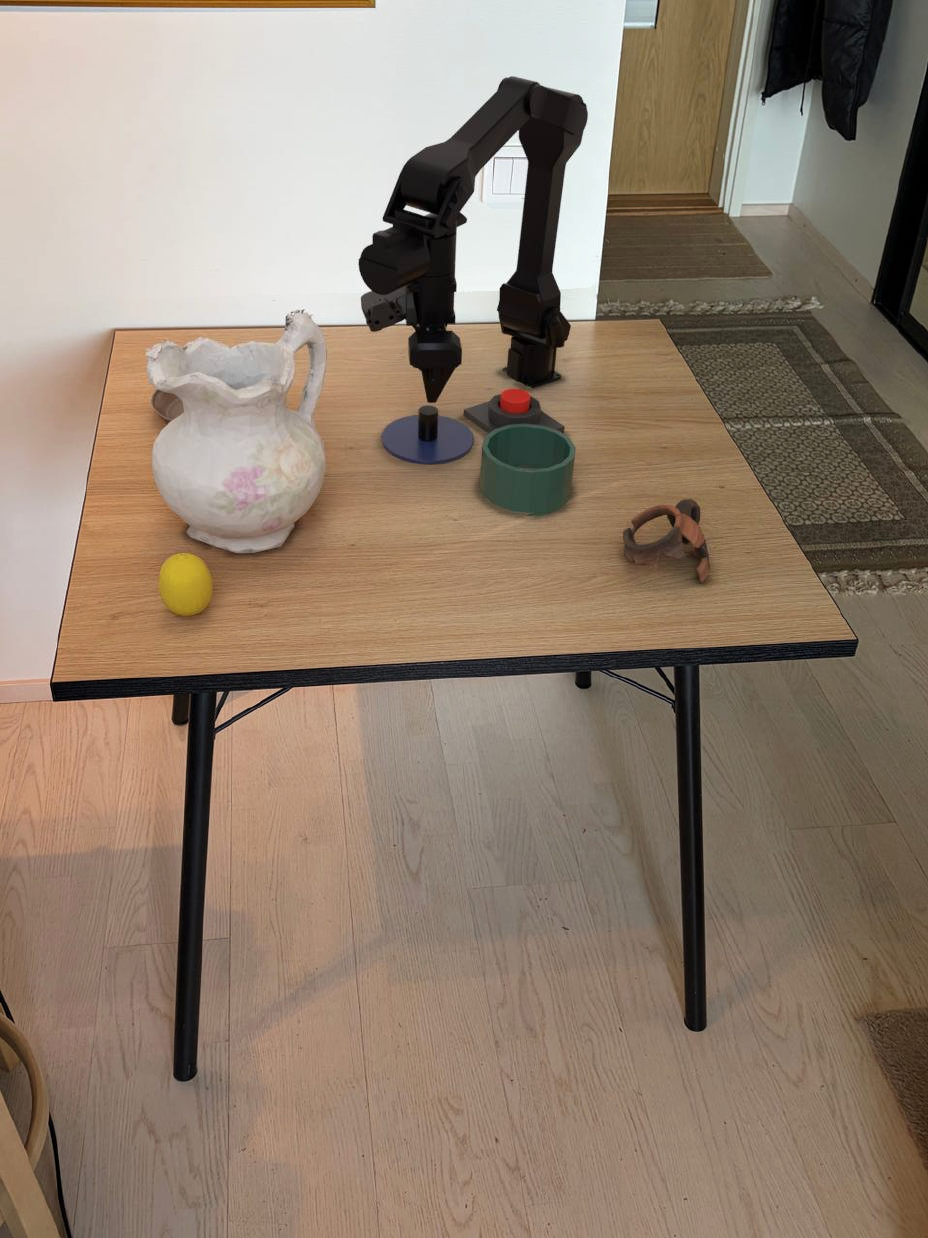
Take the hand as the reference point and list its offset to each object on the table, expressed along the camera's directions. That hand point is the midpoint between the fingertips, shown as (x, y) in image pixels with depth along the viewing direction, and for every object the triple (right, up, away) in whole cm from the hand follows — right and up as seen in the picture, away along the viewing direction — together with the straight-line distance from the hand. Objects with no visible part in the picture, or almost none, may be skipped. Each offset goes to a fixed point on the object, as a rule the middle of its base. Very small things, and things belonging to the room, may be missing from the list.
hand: (428, 384), depth 150 cm
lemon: (-25, -30, -24) cm, 46 cm away
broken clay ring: (+29, -24, -13) cm, 39 cm away
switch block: (+11, -4, +10) cm, 15 cm away
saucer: (-30, -2, +9) cm, 32 cm away
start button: (+11, -1, +8) cm, 14 cm away
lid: (0, -6, +5) cm, 8 cm away
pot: (+12, -14, -3) cm, 19 cm away
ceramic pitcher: (-21, -19, -10) cm, 30 cm away
